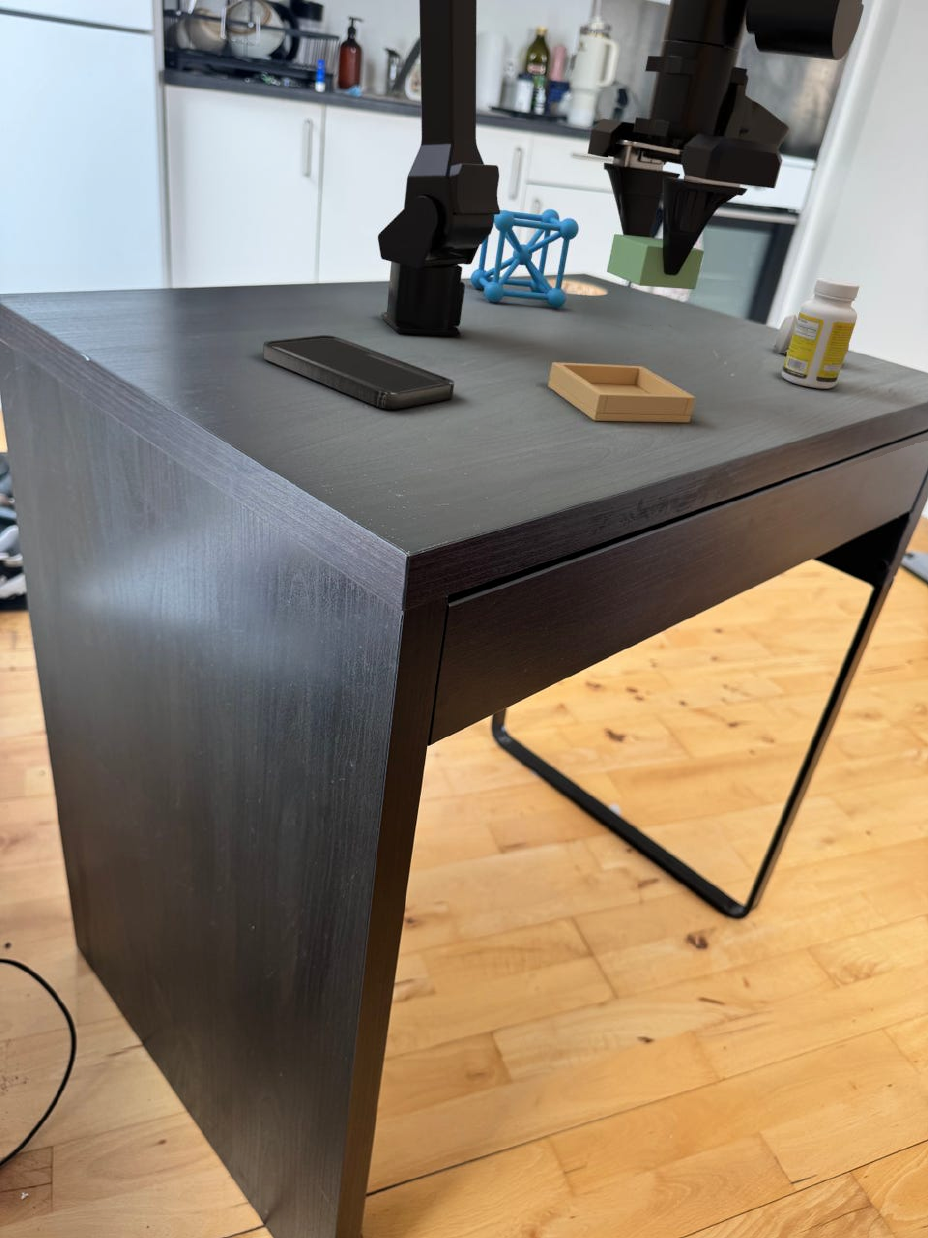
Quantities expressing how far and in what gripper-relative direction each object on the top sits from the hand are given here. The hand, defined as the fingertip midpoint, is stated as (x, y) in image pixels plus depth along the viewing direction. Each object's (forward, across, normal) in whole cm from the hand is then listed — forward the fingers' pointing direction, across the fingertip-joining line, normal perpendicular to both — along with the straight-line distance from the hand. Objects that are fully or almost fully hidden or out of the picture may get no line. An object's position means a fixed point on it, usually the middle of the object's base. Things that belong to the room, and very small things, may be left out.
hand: (652, 267), depth 76 cm
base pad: (+10, -4, +3) cm, 11 cm away
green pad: (+1, 0, 0) cm, 1 cm away
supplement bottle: (+10, +4, -24) cm, 27 cm away
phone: (+10, +2, +24) cm, 26 cm away
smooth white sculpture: (+10, +14, -32) cm, 37 cm away
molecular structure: (+10, +37, -6) cm, 39 cm away
